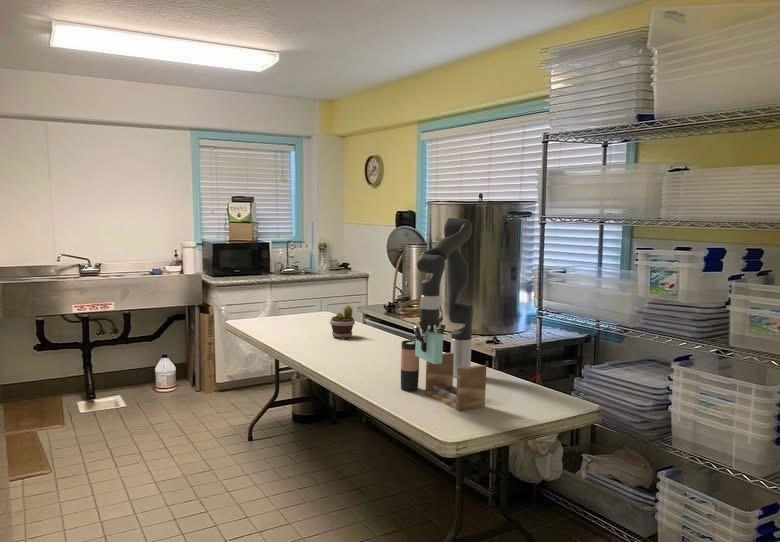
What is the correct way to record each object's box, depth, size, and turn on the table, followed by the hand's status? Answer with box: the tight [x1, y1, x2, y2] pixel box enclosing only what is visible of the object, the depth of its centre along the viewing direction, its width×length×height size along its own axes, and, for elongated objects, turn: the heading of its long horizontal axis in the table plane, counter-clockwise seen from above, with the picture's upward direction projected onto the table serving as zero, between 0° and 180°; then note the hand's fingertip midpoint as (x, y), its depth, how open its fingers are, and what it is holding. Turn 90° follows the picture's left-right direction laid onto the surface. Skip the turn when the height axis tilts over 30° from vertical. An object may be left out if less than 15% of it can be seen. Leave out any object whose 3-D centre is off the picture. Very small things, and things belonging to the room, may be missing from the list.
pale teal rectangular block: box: [415, 328, 444, 364], centre depth 226 cm, size 14×4×11 cm, turn 28°
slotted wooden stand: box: [424, 352, 487, 412], centre depth 233 cm, size 24×12×16 cm, turn 28°
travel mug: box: [400, 339, 420, 393], centre depth 246 cm, size 8×8×20 cm
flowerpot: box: [329, 304, 356, 340], centre depth 345 cm, size 14×15×20 cm
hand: (428, 351), depth 226 cm, fingers closed on pale teal rectangular block, 3 cm apart
